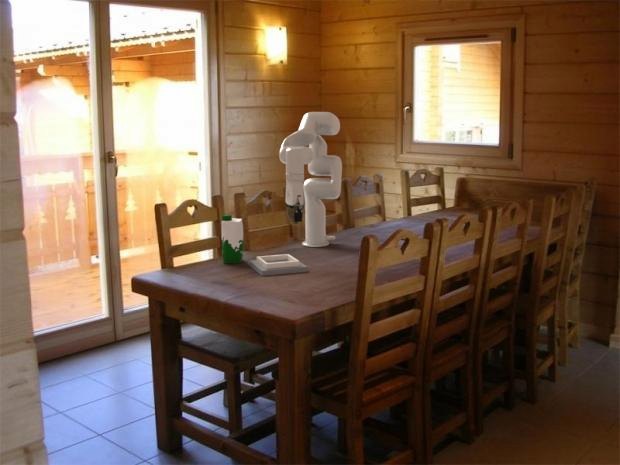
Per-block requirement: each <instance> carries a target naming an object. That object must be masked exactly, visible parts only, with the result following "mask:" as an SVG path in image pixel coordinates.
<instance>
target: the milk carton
mask: <svg viewBox="0 0 620 465" xmlns="http://www.w3.org/2000/svg"><path fill="white" fill-rule="evenodd" d="M221 216H222V218H221V223H220V224H221V254H222V260H223V264H241V262H242V261H243V255H244V224H243V219H242V218H236V217H233V215H232V214H227V213H225V214H222V215H221Z"/></svg>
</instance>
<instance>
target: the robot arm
mask: <svg viewBox="0 0 620 465" xmlns="http://www.w3.org/2000/svg"><path fill="white" fill-rule="evenodd" d="M340 129H341V123H340V119H339V118H338V116H336V115H335V114H334V113H332V112H329V111H308V112H307V113H305V114H304V115H303V117H302V119H301V121H300V124H299V127H298V130H297V131H294V132H293V133H292V134H290V135H288V136H286V137H285V138H284V140H283V141H282V144H281V146H280V149H279V154H278V155H279V156H278V157H279V160H280V162H281V163H283V164H285V182H286V185H285V199H284V200H285V203H286V204H287V205H289V206H294V207H295V212H294V221H295V222H301V223H302V222H303V217H302V206H303V205H304V210H305V214H304V215H305V216H304V219H305V222H304V224H305V233H304V234H305V240H304V241H302V242H301V245H302V246H304V247H309V248H322V247H327V246H329V245H330V242H329V241H335V240H336V235H327V234H326V233H327V232H326V222H327V221H326V214H327V212H326V211H327V210H326V206H325V204H324V202H323V201H322V200H323V199H325V200H336V199H338V198H339V197H340V196H341V191H342V174H343V172H342V171H343V162H342V159H341V157H340V156H337V155H331V154H330V155H328V144H327V143H326V140H325V139H324V138H323V137H322V136H335V135H338V133H339V132H340ZM305 165H307V171H308V174H310V175H312V176H318V177H310V178H307V179H305ZM319 176H320V177H319ZM321 176H322V177H321ZM323 176H326V177H327V178H326V177H323ZM328 176H329V177H331V178H328ZM296 204H297V205H296ZM287 218H288V217H287ZM288 220H289V218H288Z"/></svg>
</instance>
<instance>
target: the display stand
mask: <svg viewBox="0 0 620 465" xmlns="http://www.w3.org/2000/svg"><path fill="white" fill-rule="evenodd" d="M248 266H249V267H250V268H252V269H253V270H254V271H255V272H257V273H258V274H259V275H260V276H262V277H264V276H274V275H275V276H277V275H284V274H285V275H287V274H296V273H297V274H298V273H306V272H307V273H308V266H307V265H305V264H304V263H303V262H301V261H300V260H298V258H296V257H294V256H292V255H291V254H289V253H288V254H287V253H285V254H273V255H263V256H262V255H261V256H256V259H252V260H248Z"/></svg>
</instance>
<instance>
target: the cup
mask: <svg viewBox="0 0 620 465" xmlns="http://www.w3.org/2000/svg"><path fill="white" fill-rule="evenodd" d="M296 205H298V204H296ZM285 207H286V215H287V218H289V219H288V220H289V221H290V224H291V225H293V226H294V225H296V226H298V225H300V224H301V223H300V222H295V221H294V212H295V207H294V206H289V205H288V204H287V205H286V206H285ZM304 210H305V204H303V206H302V218H303V216H304Z"/></svg>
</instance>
